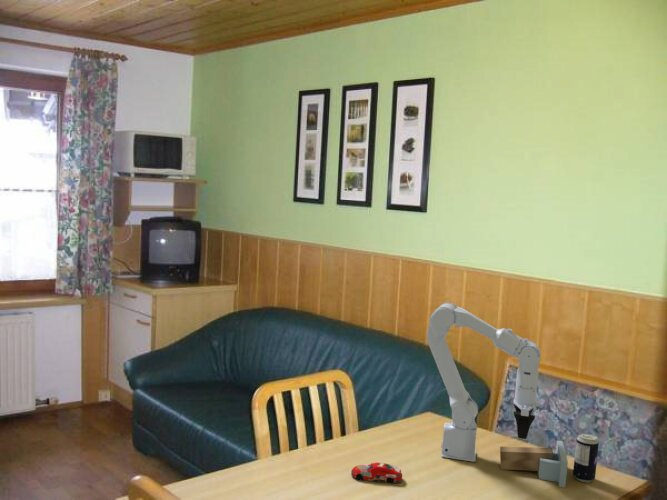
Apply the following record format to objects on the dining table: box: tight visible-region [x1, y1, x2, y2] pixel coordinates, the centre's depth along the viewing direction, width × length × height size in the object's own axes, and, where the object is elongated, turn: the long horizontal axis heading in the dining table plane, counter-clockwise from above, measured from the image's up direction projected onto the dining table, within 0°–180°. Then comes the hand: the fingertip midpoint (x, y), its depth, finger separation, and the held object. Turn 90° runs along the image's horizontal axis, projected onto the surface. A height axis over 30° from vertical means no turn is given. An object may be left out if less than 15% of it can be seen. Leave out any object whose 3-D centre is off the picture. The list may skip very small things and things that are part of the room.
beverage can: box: [572, 432, 600, 483], centre depth 190 cm, size 6×6×12 cm
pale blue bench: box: [537, 440, 569, 489], centre depth 192 cm, size 6×16×7 cm, turn 167°
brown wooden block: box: [499, 446, 554, 472], centre depth 193 cm, size 14×4×5 cm, turn 77°
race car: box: [350, 462, 403, 485], centre depth 181 cm, size 13×5×4 cm, turn 83°
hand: (521, 433), depth 195 cm, fingers open, 7 cm apart
